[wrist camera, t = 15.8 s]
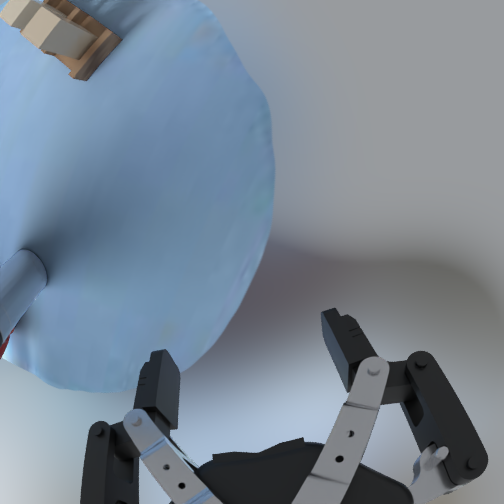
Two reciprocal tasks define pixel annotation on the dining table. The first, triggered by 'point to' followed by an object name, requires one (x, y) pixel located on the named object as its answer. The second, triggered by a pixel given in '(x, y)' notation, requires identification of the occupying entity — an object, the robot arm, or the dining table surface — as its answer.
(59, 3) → the rack
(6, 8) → the tall square post
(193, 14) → the dining table surface
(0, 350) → the plant pot
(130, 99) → the dining table surface
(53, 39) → the beige rectangular block
